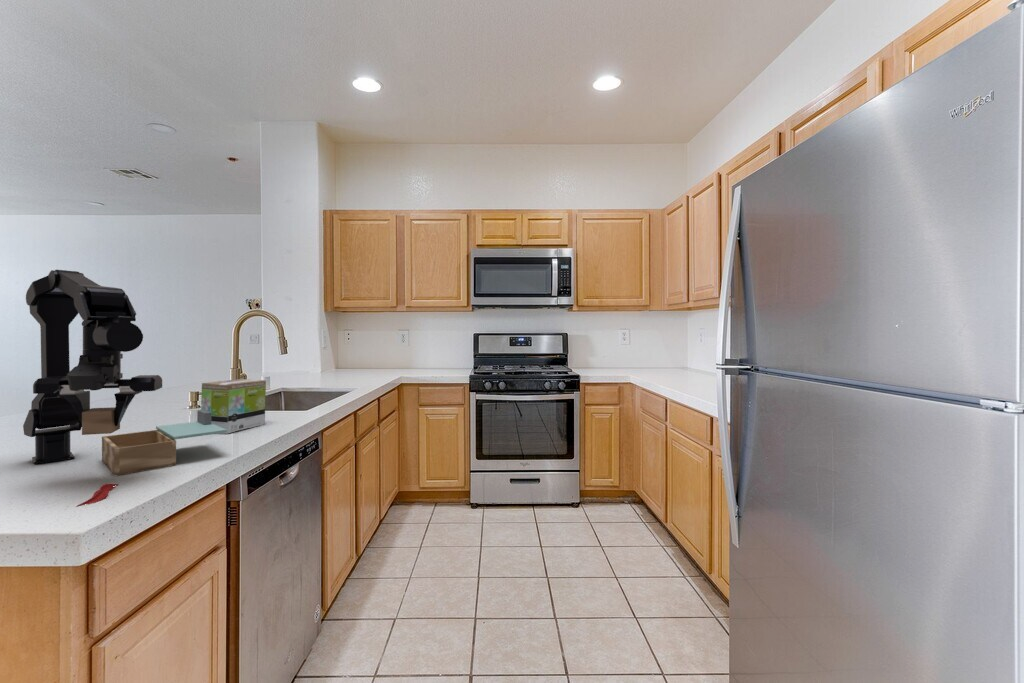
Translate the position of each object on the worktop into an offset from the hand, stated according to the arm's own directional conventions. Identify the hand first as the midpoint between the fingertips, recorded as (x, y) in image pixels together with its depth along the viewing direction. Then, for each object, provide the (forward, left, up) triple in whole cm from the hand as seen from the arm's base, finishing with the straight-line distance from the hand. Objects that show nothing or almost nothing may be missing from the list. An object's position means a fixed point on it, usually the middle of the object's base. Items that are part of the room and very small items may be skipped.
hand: (101, 426), depth 92 cm
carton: (-8, +7, -11) cm, 15 cm away
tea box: (-33, +35, -11) cm, 49 cm away
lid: (-8, +17, -5) cm, 20 cm away
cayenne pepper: (+12, -2, -11) cm, 17 cm away
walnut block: (0, 0, -1) cm, 1 cm away
